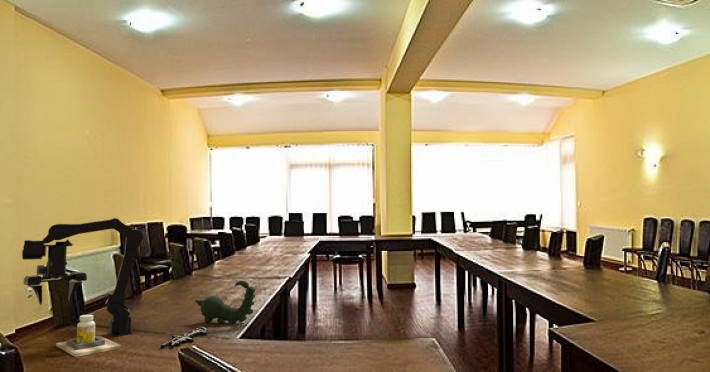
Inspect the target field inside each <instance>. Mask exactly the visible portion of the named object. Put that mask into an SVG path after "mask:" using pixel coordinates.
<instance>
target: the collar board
mask: <svg viewBox="0 0 710 372" xmlns="http://www.w3.org/2000/svg"><path fill="white" fill-rule="evenodd" d="M55 345H56V347H57V348H59V349H61V350H62V351H64V352H65V353H68V354H69V355H71V356H73V357H74V358H77V357H83V356H88V355H94V354H99V353H103V352H109V351H113V350H114V351H115V350H119V349H121V348H122V344H120V343H117V342H115V341H112V340H110V339H108V338H106V337H103V336H102V335H95V341H93V342H88V343H82V344H77V338H72V339H66V340H65V341H63V342H56V344H55Z"/></svg>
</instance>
